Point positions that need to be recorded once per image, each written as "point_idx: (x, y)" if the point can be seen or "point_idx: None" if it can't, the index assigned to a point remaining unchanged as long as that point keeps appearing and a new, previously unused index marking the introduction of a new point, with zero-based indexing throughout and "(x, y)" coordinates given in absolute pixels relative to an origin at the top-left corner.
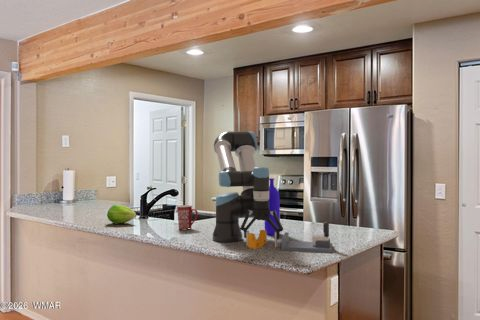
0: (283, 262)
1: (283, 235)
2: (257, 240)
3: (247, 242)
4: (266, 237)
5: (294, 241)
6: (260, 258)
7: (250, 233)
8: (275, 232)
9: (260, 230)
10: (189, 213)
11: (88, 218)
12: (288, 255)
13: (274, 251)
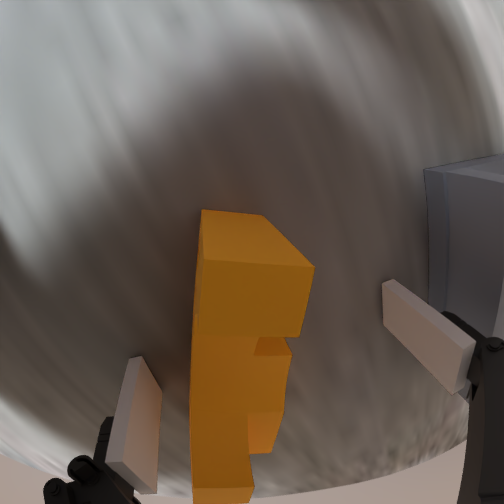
0: (424, 458)
1: (493, 335)
2: (261, 420)
3: (158, 411)
4: (279, 233)
5: (492, 172)
6: (348, 483)
7: (206, 493)
8: (459, 381)
9: (211, 331)
10: None
11: None
12: (447, 402)
13: (391, 397)
